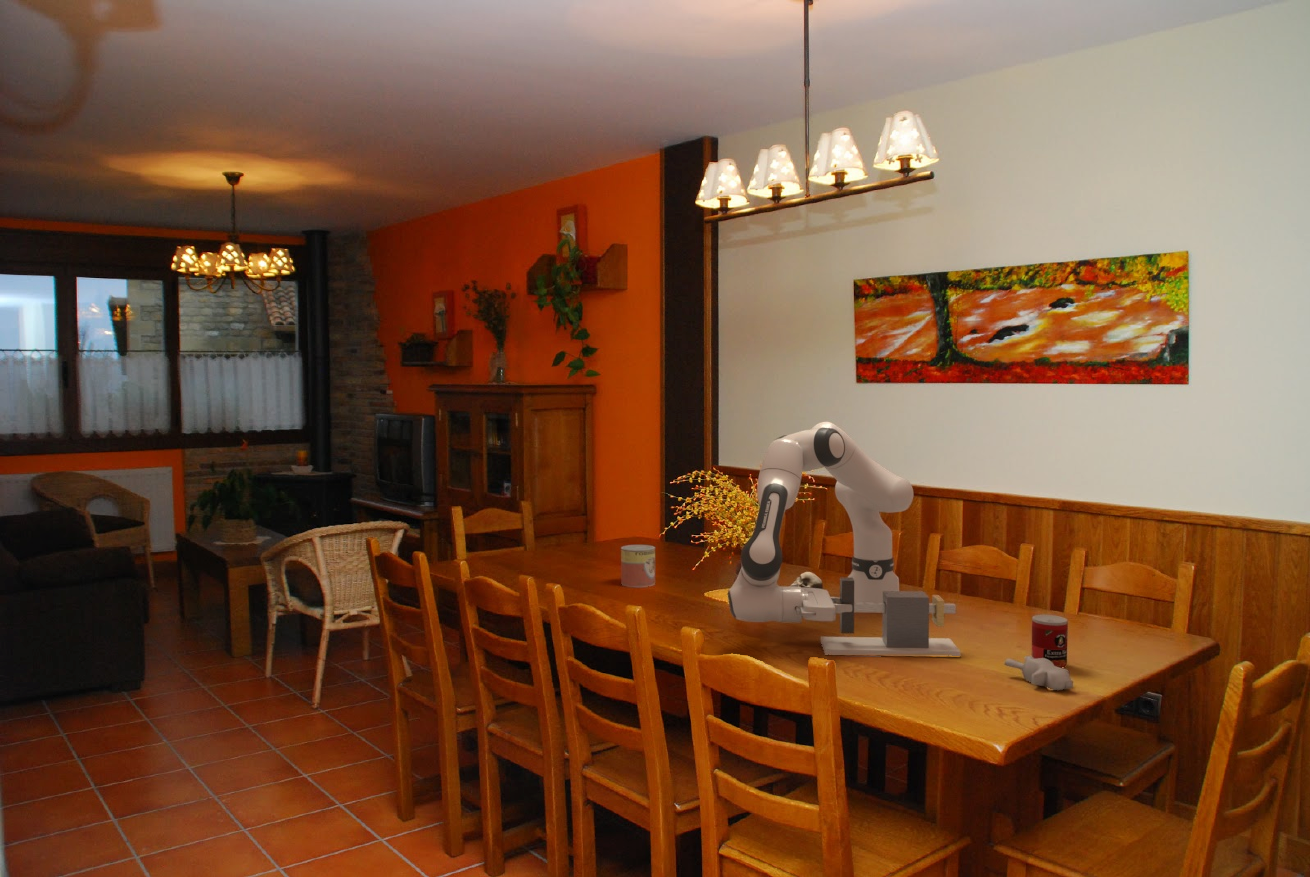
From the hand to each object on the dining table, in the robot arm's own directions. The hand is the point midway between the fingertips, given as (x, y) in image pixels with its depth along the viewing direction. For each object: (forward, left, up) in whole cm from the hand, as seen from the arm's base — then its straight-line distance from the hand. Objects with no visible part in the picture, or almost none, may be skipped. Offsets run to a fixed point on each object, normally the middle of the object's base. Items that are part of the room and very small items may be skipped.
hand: (850, 605), depth 243 cm
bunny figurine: (+25, +38, -11) cm, 47 cm away
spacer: (0, +21, -4) cm, 22 cm away
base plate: (0, +9, -11) cm, 14 cm away
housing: (0, +13, -11) cm, 17 cm away
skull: (-59, -6, -11) cm, 61 cm away
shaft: (0, +11, -7) cm, 13 cm away
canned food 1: (-76, -60, -11) cm, 97 cm away
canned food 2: (+11, +44, -11) cm, 47 cm away
